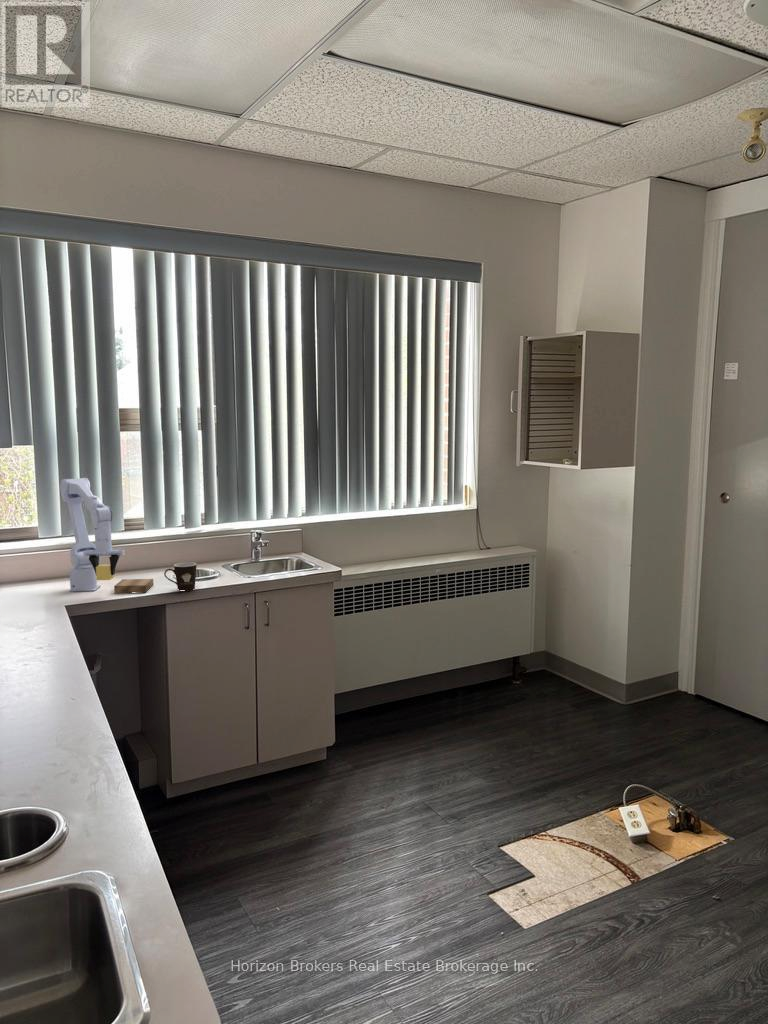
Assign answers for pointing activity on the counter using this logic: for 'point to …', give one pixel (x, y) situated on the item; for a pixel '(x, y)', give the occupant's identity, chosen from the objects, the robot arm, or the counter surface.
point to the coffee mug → (184, 575)
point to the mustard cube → (104, 572)
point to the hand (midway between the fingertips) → (105, 574)
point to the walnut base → (133, 585)
